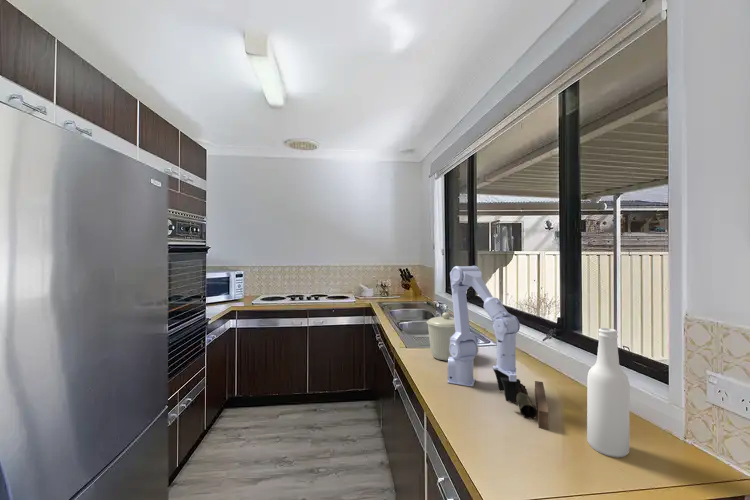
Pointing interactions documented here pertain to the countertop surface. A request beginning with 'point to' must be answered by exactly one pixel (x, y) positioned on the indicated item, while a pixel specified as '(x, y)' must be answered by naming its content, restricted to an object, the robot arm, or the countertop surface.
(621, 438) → the alcohol
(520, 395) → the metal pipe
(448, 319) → the canister
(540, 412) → the brown wooden plank
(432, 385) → the countertop surface
